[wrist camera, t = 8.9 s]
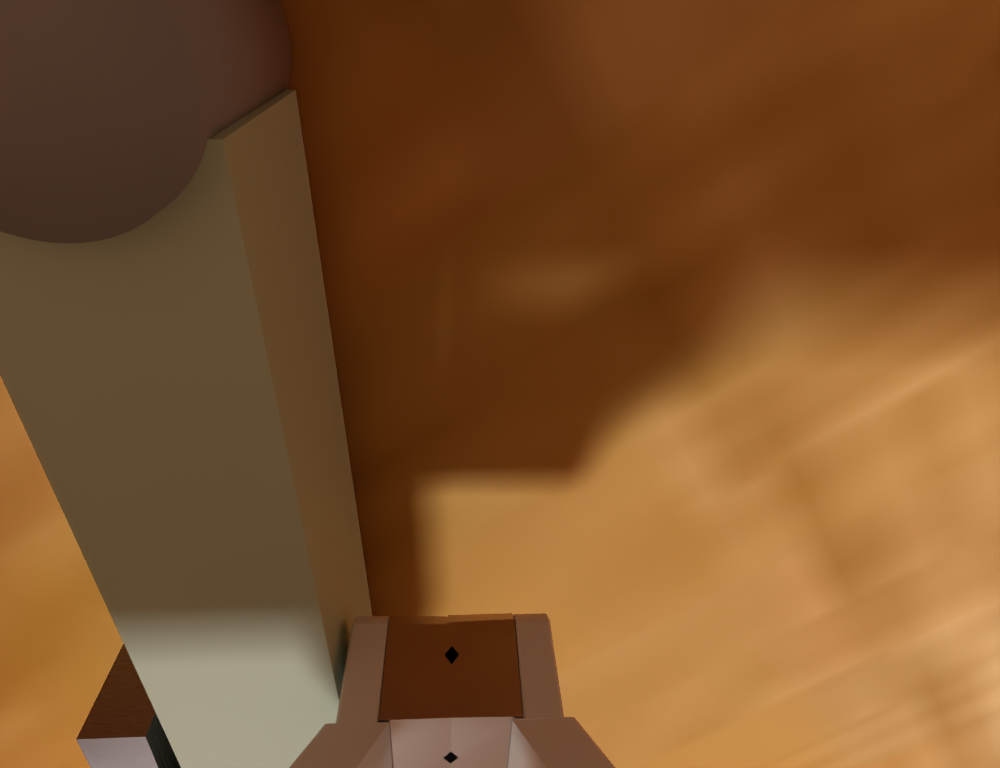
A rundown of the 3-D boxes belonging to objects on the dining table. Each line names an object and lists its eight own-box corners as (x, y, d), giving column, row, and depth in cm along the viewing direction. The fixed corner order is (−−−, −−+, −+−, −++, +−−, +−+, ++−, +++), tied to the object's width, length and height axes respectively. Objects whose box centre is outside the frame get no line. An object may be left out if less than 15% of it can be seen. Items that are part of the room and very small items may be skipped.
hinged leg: (23, -99, 6) (-289, -160, 4) (270, -95, 7) (145, -150, 4) (271, 715, 14) (226, 898, 11) (387, 708, 14) (371, 887, 11)
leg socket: (417, 733, 15) (412, 864, 13) (194, 741, 14) (148, 879, 12) (412, 595, 12) (404, 727, 10) (144, 600, 12) (76, 738, 10)
